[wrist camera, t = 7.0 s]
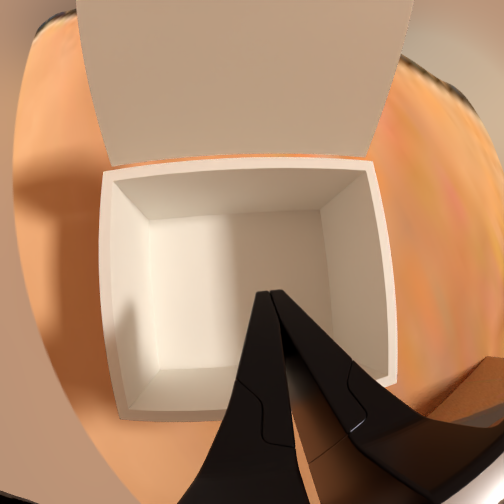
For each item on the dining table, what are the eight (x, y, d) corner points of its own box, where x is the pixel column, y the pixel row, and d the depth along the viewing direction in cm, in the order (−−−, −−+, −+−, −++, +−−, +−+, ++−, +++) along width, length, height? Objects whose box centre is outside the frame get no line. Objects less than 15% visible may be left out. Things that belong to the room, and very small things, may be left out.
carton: (338, 355, 19) (396, 383, 12) (155, 375, 18) (119, 419, 10) (323, 204, 21) (372, 161, 13) (143, 215, 19) (103, 171, 11)
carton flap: (422, -47, 3) (415, -48, 3) (75, -69, 1) (81, -68, 2) (365, 157, 13) (361, 151, 13) (111, 166, 11) (114, 160, 12)
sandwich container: (399, 435, 19) (503, 496, 4) (486, 353, 22) (579, 361, 7) (408, 477, 18) (485, 533, 4) (488, 401, 21) (567, 420, 6)
